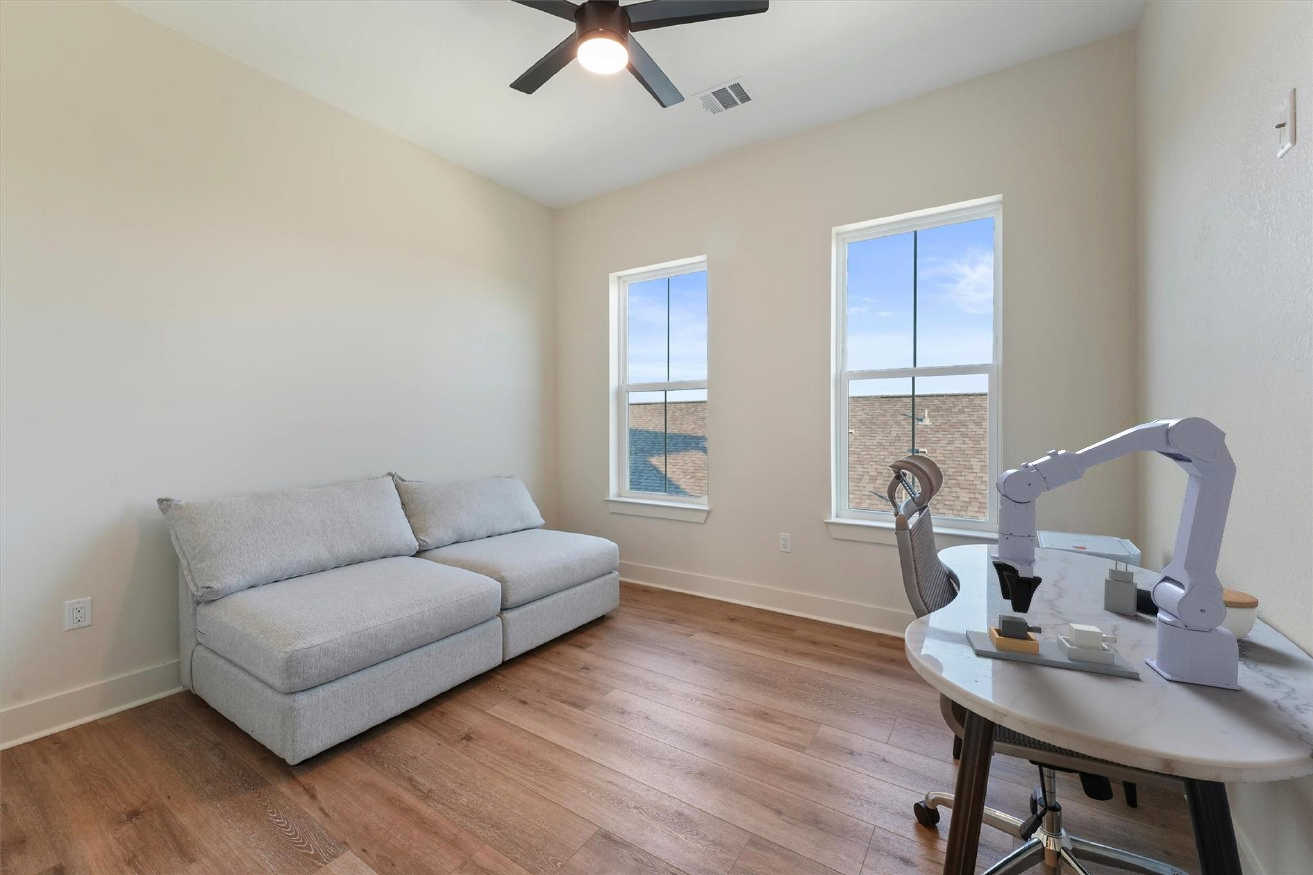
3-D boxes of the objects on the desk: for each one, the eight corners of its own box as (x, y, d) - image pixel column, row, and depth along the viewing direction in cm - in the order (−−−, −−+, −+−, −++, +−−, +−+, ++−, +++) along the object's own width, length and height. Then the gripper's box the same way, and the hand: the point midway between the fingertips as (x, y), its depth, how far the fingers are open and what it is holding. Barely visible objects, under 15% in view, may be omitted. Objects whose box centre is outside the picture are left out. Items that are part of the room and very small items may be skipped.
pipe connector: (1146, 580, 131) (1234, 598, 118) (1146, 602, 131) (1233, 622, 118) (1126, 588, 126) (1216, 607, 113) (1126, 610, 126) (1215, 632, 113)
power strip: (1113, 655, 99) (1114, 623, 99) (1139, 678, 90) (1140, 643, 90) (965, 634, 108) (966, 605, 108) (975, 654, 99) (976, 622, 98)
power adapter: (1132, 616, 121) (1134, 563, 120) (1102, 609, 125) (1104, 558, 125) (1137, 613, 122) (1138, 561, 122) (1107, 606, 127) (1108, 556, 127)
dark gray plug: (1037, 645, 101) (1038, 619, 100) (1042, 652, 98) (1043, 624, 98) (998, 640, 103) (998, 614, 103) (1001, 646, 100) (1002, 619, 100)
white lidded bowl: (1245, 653, 101) (1248, 595, 101) (1157, 631, 112) (1159, 578, 111) (1265, 641, 107) (1267, 586, 107) (1180, 620, 118) (1182, 571, 118)
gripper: (983, 525, 108) (982, 591, 109) (1000, 539, 95) (998, 615, 95) (1024, 528, 106) (1023, 596, 106) (1048, 542, 92) (1046, 620, 93)
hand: (1014, 605), depth 101 cm, fingers open, 7 cm apart
